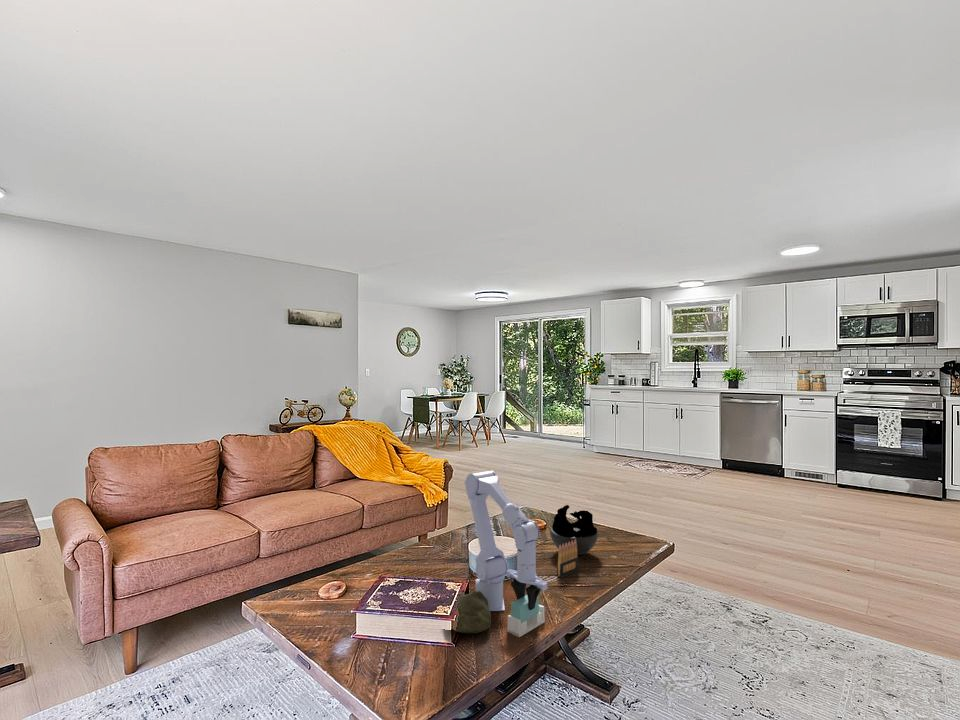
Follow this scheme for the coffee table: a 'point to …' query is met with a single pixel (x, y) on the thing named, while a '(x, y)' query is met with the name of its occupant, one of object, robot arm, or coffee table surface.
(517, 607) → the teal block
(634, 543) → the coffee table surface
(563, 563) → the ammunition clip
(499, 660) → the coffee table surface
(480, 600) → the decorative rock
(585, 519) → the coal bowl
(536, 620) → the stand
